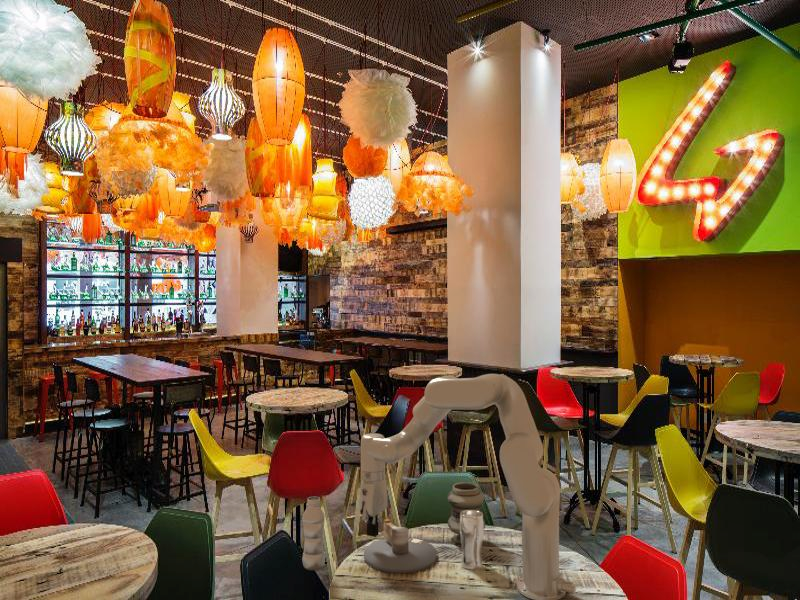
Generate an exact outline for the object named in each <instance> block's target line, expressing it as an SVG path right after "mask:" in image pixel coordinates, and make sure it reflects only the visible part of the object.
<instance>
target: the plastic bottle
mask: <svg viewBox="0 0 800 600" xmlns="http://www.w3.org/2000/svg"><path fill="white" fill-rule="evenodd" d="M306 499H307V503H306V506H307V508H305V510H304V512H303V513H302V516H301V518H302V525H303V536H304V537H303V538H304V539H303V540H304V543H303V551H302V552H303V553H302V557H301V558H302V559H301V560H302V565H303V568H304V569H306V570H307V571H318V570H321V569H323V567H324V566H325V564H326V563H325V562H326V555H325V548H324V527H325V517H326V516H325V512H324V511H323V509H322V508H321V507H320V506H321V498H320V496H309V497H307V498H306Z"/></svg>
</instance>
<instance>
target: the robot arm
mask: <svg viewBox="0 0 800 600" xmlns="http://www.w3.org/2000/svg"><path fill="white" fill-rule="evenodd" d="M423 395H424V396H422V398H421V399H420V400H419V401H418V402H417V403H416V404H415V405H414V406H413V408H412V415H413V417H412V418H411V420H410V421H409V423H407V424H406V426H404V428H402V430H401V431H400V432H399V433H397V434H395V435H392V436H389V437H386V438H385V436H384V435H383V434H381V433H367V434H366V433H365V434H363V435H362V436H361V439H360V489H359V499H358V500H359V507H358V510H359V511H358V512H359V514H360V515H362V517H361V520H362V521H365V523H366V535H367V536H369V537H374V538H376V537H377V536H378V535H379V521H380V515H381V513H382V512H384V511H385V510H386V509H387V508H388V488H387V487H388V486H387V480H386V479H387V478H386V464H388V465H389V464H390V465H393V464H396V463H398V462H401V461H402V460H403V459H406V458H409V457H410V456H412V455H413V454H414V453H415V452H416V451H417V450H418V449H419V448H420V447H421V446H423V443H425V442H426V440H427V439H428V438H429V437H430V435H431V434H432V433H433V431H434V429H435V428H436V427H437V425H439V424H440V422H441V421H443V419H445V417H446V416H447V415H448V414H449V413H450V412H451V411H452V410H454V411H455V410H457V411H459V410H460V411H461V410H464V411H465V410H466V411H470V410H471V411H472V410H473V411H474V410H475V411H477V410H483V409H484V410H485V409H486V408H488V407H490V406H493V405H495V406H496V407H497V409H498V414H499V415H498V416H499V420H500V424H501V426H502V429H503V432H504V435H505V440H504V441H503V442H502V444H501V446H500V449H499V462H500V466H501V468H502V471H503V474H504V478H505V480H506V483H507V487H508V490H509V493H510V496H511V498H512V500H513V504H514V505H515V507H516V508H517V510H518V511H519V512H521V513H522V516H521V519H522V520H521V527H522V528H521V530H522V531H521V538H522V539H521V543H522V544H521V545H522V547H521V548H522V552H521V553H522V555H521V556H522V559H521V560H522V577H520V578H519V579H518V580H517V582H516V590H517V591H518V593H519V594H521V595H522V596H524V597H526V598H528V599H531V600H562V599H563V598H564V597H566V593H569V594H573V595H575V594H576V591H577V587H576V585H575V584H574V581H572V580H566V579H565V578H564V573H563V572H560V503H561V487H560V483H559V480H558V478H557V476H556V475H555V474H554V473H553V472H552V471H551V470H549V469H547V468H543V467H540V464H539V462H540V460H541V459H542V457H543V455H544V446H543V445H544V444H543V442H542V439H541V437H540V435H539V431H538V429H537V426H536V422H535V419H534V418H533V415H532V412H531V410H530V407H529V403H528V401H527V398H526V395H525V393H524V391H523V389H522V388H521V387H520V386H519V384H518V383H517V382H516V381H515V380H513V378H511V377H508V376H506V375H502V374H498V373H487V374H482V375H478V376H477V377H476V376H475V377H466V378H465V377H464V378H463V377H461V378H458V377H456V376H455V375H449V374H448V375H444V376H443V375H442V376H439V377H436V378H432V379H431V380H430V381H429V382H428V383H427V385H426V386H425V388H424V394H423Z"/></svg>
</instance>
